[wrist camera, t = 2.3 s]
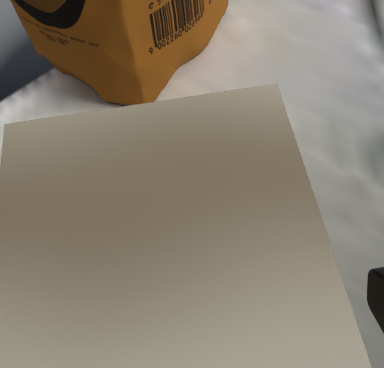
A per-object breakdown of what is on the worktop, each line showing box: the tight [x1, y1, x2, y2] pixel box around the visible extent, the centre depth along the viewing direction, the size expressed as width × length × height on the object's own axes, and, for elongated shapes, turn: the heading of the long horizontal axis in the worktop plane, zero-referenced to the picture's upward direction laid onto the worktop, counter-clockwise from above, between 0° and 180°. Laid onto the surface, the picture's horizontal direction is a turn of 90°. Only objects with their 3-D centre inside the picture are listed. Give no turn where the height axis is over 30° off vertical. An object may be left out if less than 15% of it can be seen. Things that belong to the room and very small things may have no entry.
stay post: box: [0, 84, 372, 368], centre depth 11 cm, size 5×5×12 cm
